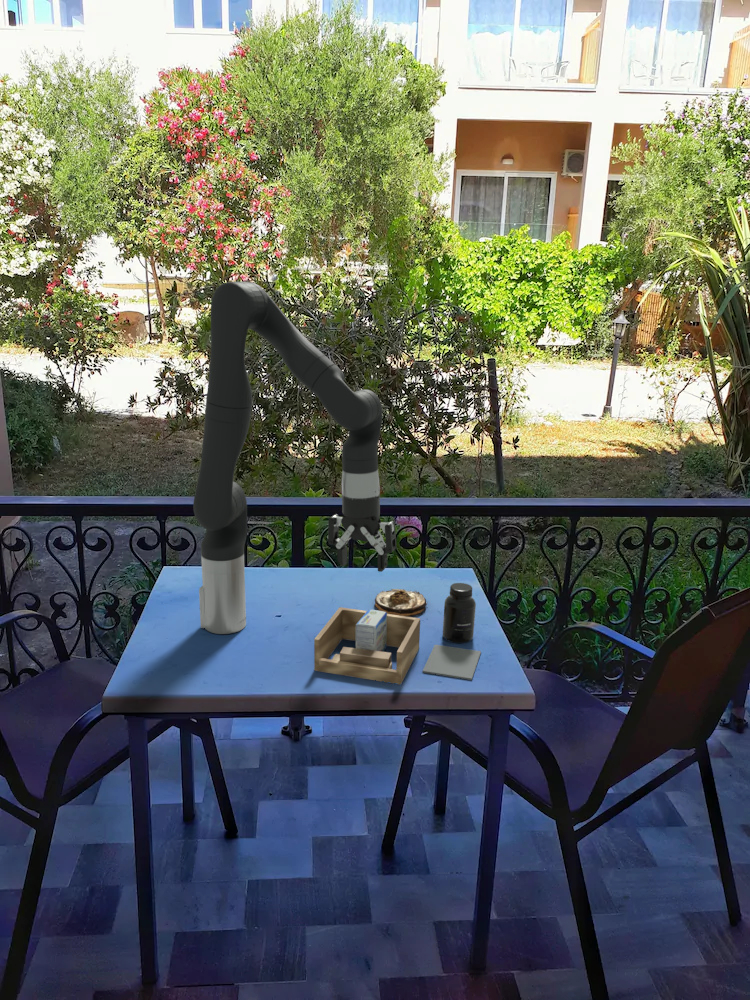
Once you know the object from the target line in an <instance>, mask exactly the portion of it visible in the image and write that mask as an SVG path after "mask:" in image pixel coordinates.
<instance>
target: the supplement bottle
mask: <svg viewBox="0 0 750 1000" xmlns="http://www.w3.org/2000/svg"><path fill="white" fill-rule="evenodd" d="M476 605H477V603H476V601H475V599H474V598H473V586H472V585H471V584H469V583H464V582H456V583H455V582H454V583H452V584H451V585H450V586H449V595H447V597H446V598H445V600H444V607H443V622H442V637H443V638H444V639H446V641H448V642H451V643H456V644H464V643H469V642H470V641H471V640H473V638H474V631H475V620H476V619H475V618H476V609H477V608H476Z"/></svg>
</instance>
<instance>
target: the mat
mask: <svg viewBox="0 0 750 1000" xmlns="http://www.w3.org/2000/svg"><path fill="white" fill-rule="evenodd" d="M481 654H482V651H481V650H475V649H474V650H473V649H467V648H461V647H455V646H454V647H453V646H447V645H441V644H434V645H433V647H432V649H431V653H430V654H429V656H428V658H427V660H426V663H425V665H424V667H423V669H422V673H423V674H428V675H430V674H431V675H435V674H436V676H441V675H442V676H444V677H448V678H455V679H460V678H461V679H462V680H468V681H472V680H473V678H474V675H475V671H476V669H477V666H478V662H479V660H480V656H481ZM461 679H460V680H461Z"/></svg>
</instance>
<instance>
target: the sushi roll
mask: <svg viewBox="0 0 750 1000" xmlns="http://www.w3.org/2000/svg"><path fill="white" fill-rule="evenodd" d="M426 602H427V599H426V598H425V596H424V594H422V593H420V591H417V590H414V591H412V590H411V589H410V590H406V589H404V588H403V589H401V588H390V590H386V591H385V590H382V591H380V592H379V593H377V594H376V596H375V598H374V603H375V604H374V607H376V608H377V610H378V611H384V612H387V614H392V615H399V616H406V617H413V616H418V615H421V614H422V612H423V611H425V609H426V608H427V605H428V603H426Z"/></svg>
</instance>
